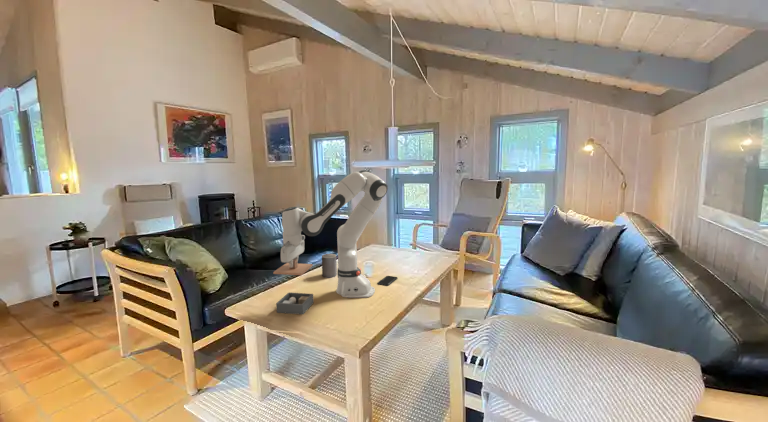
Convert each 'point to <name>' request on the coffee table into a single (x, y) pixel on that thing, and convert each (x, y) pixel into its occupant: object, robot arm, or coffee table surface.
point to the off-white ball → (293, 300)
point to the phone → (387, 280)
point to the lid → (293, 269)
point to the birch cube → (302, 299)
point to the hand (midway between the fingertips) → (293, 265)
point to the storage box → (295, 307)
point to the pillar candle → (329, 265)
